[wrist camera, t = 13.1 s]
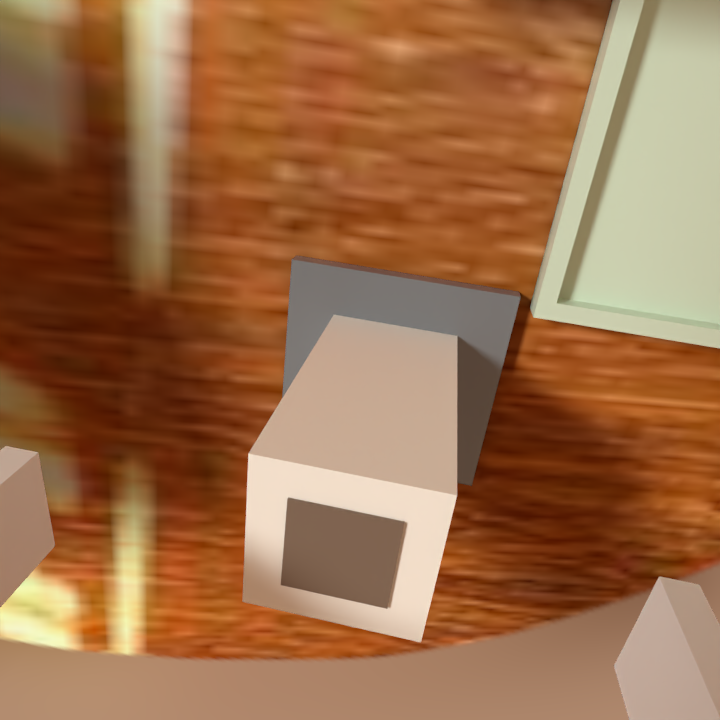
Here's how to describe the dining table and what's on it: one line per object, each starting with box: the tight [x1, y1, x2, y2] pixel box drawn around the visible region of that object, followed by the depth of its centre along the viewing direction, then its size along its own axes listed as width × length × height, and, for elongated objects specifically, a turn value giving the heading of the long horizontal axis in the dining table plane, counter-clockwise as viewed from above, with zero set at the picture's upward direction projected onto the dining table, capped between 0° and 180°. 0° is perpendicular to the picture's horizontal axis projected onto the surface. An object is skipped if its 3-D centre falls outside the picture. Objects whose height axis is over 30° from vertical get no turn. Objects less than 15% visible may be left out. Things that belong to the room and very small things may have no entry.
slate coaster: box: [282, 256, 521, 486], centre depth 21 cm, size 8×8×1 cm
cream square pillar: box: [243, 315, 457, 642], centre depth 16 cm, size 5×5×9 cm
